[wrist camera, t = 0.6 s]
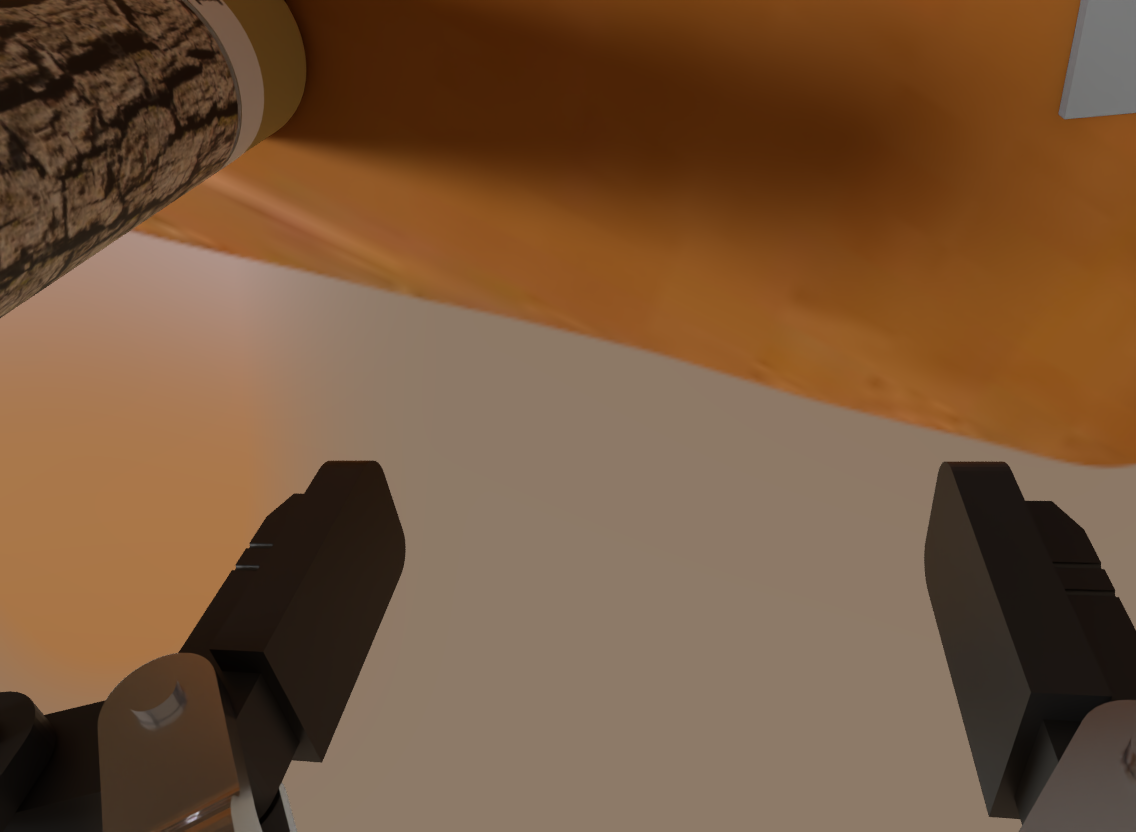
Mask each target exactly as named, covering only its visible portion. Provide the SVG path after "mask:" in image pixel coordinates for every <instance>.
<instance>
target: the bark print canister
mask: <svg viewBox="0 0 1136 832" xmlns="http://www.w3.org/2000/svg"><path fill="white" fill-rule="evenodd" d="M305 83H306V56H305V50H304V45H303V41H302V37H301V34H300V31H299V28H298V26H297V23H296V21H295V19H294V17H293V15H292V13H291V11H290V9H289V7H288V6H287V4H286V2H285V1H284V0H0V318H1V317H3V316H4V315H5V314H7V313H8V312H10V311H11V310H13V309H14V308H16V307H17V306H19V305H20V304H22V303H23V302H25V301H26V300H28V299H29V298H31V297H32V296H34V295H35V294H37V293H38V292H40V291H41V290H43V289H44V288H46V287H47V286H49V285H50V284H52V283H53V282H54V281H56V280H58V279H59V278H60V277H62V276H63V275H65V274H66V273H68V272H69V271H71V270H72V269H74V268H75V267H77V266H78V265H80V264H81V263H83V262H84V261H86V260H87V259H89V258H90V257H92V256H93V255H95V254H96V253H98V252H99V251H100V250H102V249H104V248H105V247H107V246H108V245H109V244H111V243H112V242H114V241H115V240H117V239H118V238H120V237H121V236H123V235H124V234H126V233H127V232H129V231H130V230H132V229H133V228H135V227H136V226H138V225H139V224H141V223H142V222H144V221H145V220H147V219H148V218H150V217H151V216H153V215H154V214H156V213H157V212H159V211H160V210H162V209H163V208H164V207H166V206H167V205H169V204H170V203H172V202H173V201H175V200H176V199H178V198H179V197H181V196H182V195H184V194H185V193H187V192H188V191H190V190H191V189H193V188H194V187H196V186H197V185H199V184H200V183H202V182H203V181H205V180H206V179H208V178H209V177H211V176H212V175H213V174H215V173H216V172H218V171H219V170H221V169H222V168H224V167H225V166H227V165H228V164H230V163H231V162H233V161H234V160H236V159H237V158H239V157H240V156H241V155H242V154H243V153H245V152H246V151H248V150H249V149H251V148H252V147H254V146H255V145H257V144H258V143H260V142H261V141H263V140H264V139H266V138H267V137H269V136H270V135H272V134H273V133H275V132H276V131H278V130H279V129H280V128H281V127H283V126H284V125H285V124H286V123H287V122H288V120H289V119H290V118H291V117H292V116H293V114H294V113H295V111H296V109H297V108H298V106H299V103H300V101H301V99H302V96H303V93H304V88H305Z"/></svg>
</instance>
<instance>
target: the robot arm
mask: <svg viewBox="0 0 1136 832" xmlns="http://www.w3.org/2000/svg"><path fill="white" fill-rule="evenodd" d="M924 556H925V557H924V561H925V562H924V563H925V577H926V584H927V589H928V592H929V596H930V600H931V604H932V607H933V611H934V615H935V619H936V622H937V626H938V629H939V633H940V637H941V641H942V645H943V648H944V652H945V656H946V659H947V663H948V667H949V670H950V674H951V678H952V682H953V685H954V689H955V693H956V696H957V700H958V704H959V707H960V711H961V714H962V719H963V722H964V726H965V730H966V733H967V737H968V741H969V745H970V748H971V752H972V756H973V759H974V763H975V767H976V770H977V774H978V778H979V782H980V785H981V789H982V793H983V796H984V800H985V804H986V807H987V811H988V815H989V817H999V818H1014V819H1021V822H1022V827H1021V829H1020V830H1019V832H1136V630H1135V628H1134V626H1133V624H1132V622H1131V620H1130V618H1129V616H1128V614H1127V612H1126V611H1125V608H1124V607H1123V605H1122V603H1121V601H1120V599H1119V597H1116V596H1115V589H1114V587H1113V586H1112V583H1111V581H1110V579H1109V577H1108V575H1107V573H1106V571H1105V570H1104V569H1101V562H1100V560H1099V558H1098V556H1097V554H1096V552H1095V550H1094V548H1093V546H1092V544H1091V542H1090V540H1089V538H1088V537H1087V534H1086V533H1085V531H1084V529H1083V528H1082V527H1080V526H1079V525H1078V524H1077V523H1076V522H1075V521H1074V520H1073V519H1071V518H1070V517H1069V516H1068V515H1067V514H1066V513H1064V512H1063V511H1062V510H1061V509H1060V508H1059V507H1058V506H1057V505H1055V504H1054V503H1053V502H1052V501H1025V500H1024V498H1023V495H1022V493H1021V491H1020V489H1019V487H1018V484H1017V482H1016V480H1015V478H1014V475H1013V473H1012V471H1011V469H1010V467H1009V466H1008V464H1006V463H1005V462H943V463H942V464H941V466H940V469H939V472H938V477H937V482H936V488H935V494H934V499H933V504H932V510H931V515H930V521H929V526H928V531H927V537H926V543H925V554H924ZM404 561H405V537H404V533H403V529H402V526H401V523H400V520H399V517H398V514H397V511H396V508H395V505H394V502H393V499H392V496H391V493H390V490H389V487H388V484H387V481H386V478H385V475H384V472H383V469H382V468H381V466H380V464H379V463H378V462H376V461H327V462H325V463H324V464H323V465H322V466H321V468H320V469H319V471H318V472H317V474H316V476H315V477H314V479H313V480H312V482H311V484H310V485H309V487H308V489H307V490H306V492H305V493H304V494H293V495H292V496H291V497H289V498H288V499H287V500H286V501H285V502H284V503H283V504H281V505H280V506H279V507H278V508H276V510H274V511H273V512H272V513H271V514H270V515H268V516H267V517H266V519H265V520H264V522H263V523H262V525H261V526H260V528H259V530H258V531H257V533H256V534H255V536H254V537H253V539H252V540H251V542H250V548H246V549H245V551H244V553H243V554H242V556H241V557H240V559H239V560H238V562H237V564H236V569H235V570H232V571H231V573H230V574H229V576H228V577H227V579H226V581H225V582H224V583H223V585H222V587H221V588H220V590H219V591H218V593H217V594H216V596H215V597H214V599H213V600H212V602H211V603H210V605H209V607H208V608H207V610H206V611H205V613H204V614H203V616H202V617H201V619H200V621H199V622H198V624H197V625H196V627H195V628H194V630H193V631H192V633H191V634H190V636H189V638H188V639H187V641H186V642H185V644H184V645H183V647H182V648H181V650H180V651H179V652H178V653H176V654H170V655H166V656H162V657H160V658H157V659H155V660H152V661H150V662H149V663H147V664H144V665H143V666H141V667H139V668H138V669H136V670H135V671H133V672H132V673H131V674H129V675H128V676H127V677H126V678H124V680H122V681H121V682H120V683H119V684H118V685H117V686H116V687H115V688H114V690H113V691H112V692H111V693H110V695H109V696H108V698H107V699H106V700H105V701H101V702H97V703H93V704H89V705H85V706H81V707H77V708H72V709H68V710H64V711H59V712H55V713H51V714H47V715H43V713H42V712H41V711H40V710H39V709H38V707H37V706H36V705H35V704H34V703H33V701H32V700H31V699H30V698H29V697H27V696H26V695H24V694H22V693H18V692H0V832H297V829H296V825H295V822H294V818H293V814H292V810H291V807H290V803H289V799H288V795H287V792H286V789H285V787H284V785H283V783H282V780H283V778H284V775H285V773H286V771H287V769H288V767H289V764H290V762H291V760H297V761H310V762H322V761H323V759H324V756H325V754H326V752H327V749H328V747H329V744H330V742H331V740H332V737H333V735H334V733H335V730H336V728H337V725H338V723H339V721H340V718H341V716H342V713H343V711H344V709H345V706H346V704H347V701H348V699H349V697H350V695H351V692H352V690H353V687H354V685H355V683H356V680H357V678H358V676H359V673H360V671H361V668H362V666H363V664H364V661H365V659H366V657H367V654H368V652H369V649H370V647H371V645H372V642H373V640H374V637H375V635H376V633H377V630H378V628H379V626H380V623H381V621H382V619H383V616H384V614H385V611H386V609H387V606H388V604H389V602H390V599H391V597H392V595H393V592H394V590H395V588H396V585H397V583H398V581H399V578H400V576H401V573H402V570H403V566H404Z"/></svg>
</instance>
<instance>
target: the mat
mask: <svg viewBox="0 0 1136 832" xmlns="http://www.w3.org/2000/svg"><path fill="white" fill-rule="evenodd" d="M1127 113H1136V0H1081V3H1080V8H1079V13H1078V18H1077V23H1076V28H1075V33H1074V38H1073V43H1072V48H1071V54H1070V59H1069V64H1068V69H1067V74H1066V79H1065V84H1064V89H1063V94H1062V99H1061V104H1060V109H1059V115H1060V116H1061V117H1062V118H1064V119H1072V118H1083V117H1094V116H1105V115H1116V114H1127Z"/></svg>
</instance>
